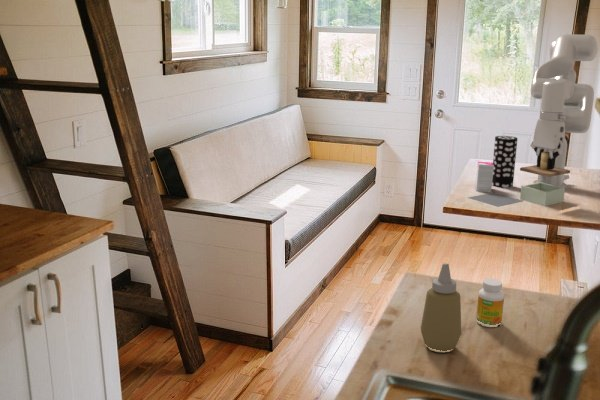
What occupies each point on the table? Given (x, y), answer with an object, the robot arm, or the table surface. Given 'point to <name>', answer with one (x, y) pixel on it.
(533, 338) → the table surface
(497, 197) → the mat
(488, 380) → the table surface
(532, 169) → the lid
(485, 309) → the supplement bottle
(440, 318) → the squeeze bottle
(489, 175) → the supplement box
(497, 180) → the white-spotted black cylinder
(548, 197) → the green open box
